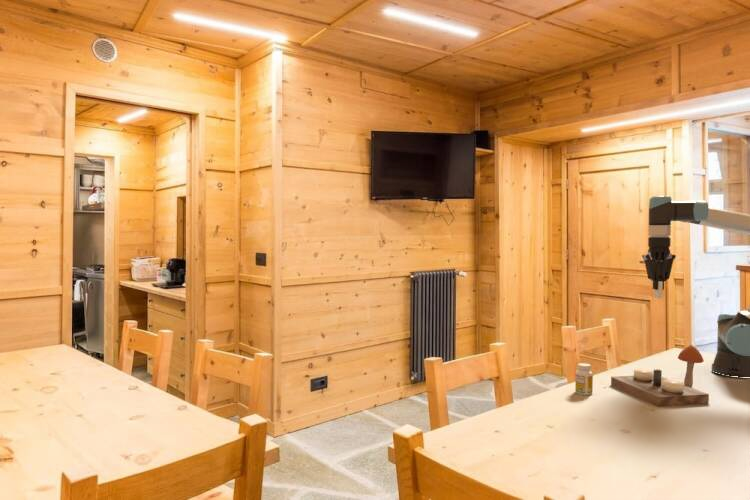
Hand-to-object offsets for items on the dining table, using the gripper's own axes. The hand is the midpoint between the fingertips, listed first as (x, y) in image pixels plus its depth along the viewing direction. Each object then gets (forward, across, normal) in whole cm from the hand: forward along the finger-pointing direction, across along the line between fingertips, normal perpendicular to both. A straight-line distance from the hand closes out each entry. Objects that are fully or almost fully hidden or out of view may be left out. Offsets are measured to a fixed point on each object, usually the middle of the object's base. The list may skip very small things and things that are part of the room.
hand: (658, 297), depth 204 cm
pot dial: (+26, +18, +23) cm, 39 cm away
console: (+29, +18, +23) cm, 41 cm away
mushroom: (+30, +1, +18) cm, 35 cm away
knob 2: (+29, +18, +30) cm, 45 cm away
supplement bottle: (+30, +42, +18) cm, 54 cm away
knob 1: (+29, +18, +16) cm, 38 cm away
